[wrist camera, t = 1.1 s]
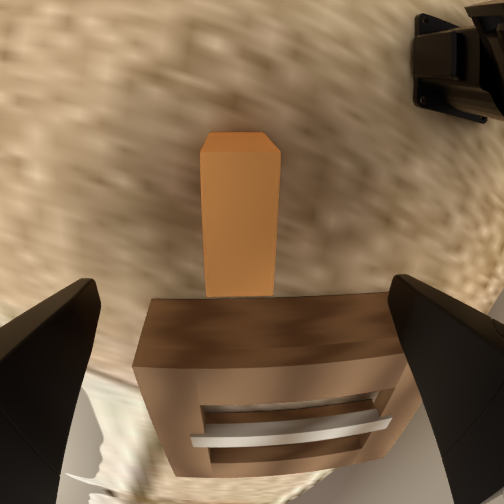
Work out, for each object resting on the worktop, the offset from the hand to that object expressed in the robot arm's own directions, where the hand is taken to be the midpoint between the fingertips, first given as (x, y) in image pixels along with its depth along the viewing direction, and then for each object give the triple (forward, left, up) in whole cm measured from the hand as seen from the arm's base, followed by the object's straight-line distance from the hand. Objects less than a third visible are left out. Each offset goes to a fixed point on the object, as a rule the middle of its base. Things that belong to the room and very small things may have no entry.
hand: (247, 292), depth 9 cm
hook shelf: (-4, +16, -11) cm, 20 cm away
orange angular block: (0, 0, -11) cm, 11 cm away
